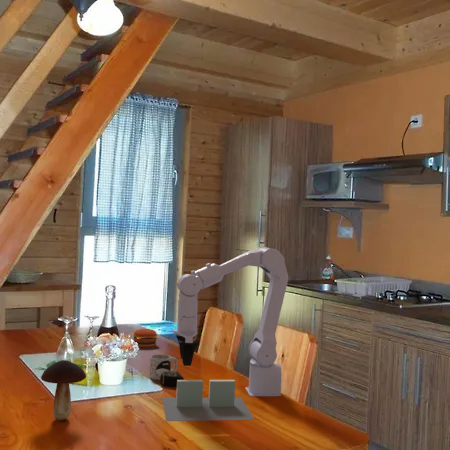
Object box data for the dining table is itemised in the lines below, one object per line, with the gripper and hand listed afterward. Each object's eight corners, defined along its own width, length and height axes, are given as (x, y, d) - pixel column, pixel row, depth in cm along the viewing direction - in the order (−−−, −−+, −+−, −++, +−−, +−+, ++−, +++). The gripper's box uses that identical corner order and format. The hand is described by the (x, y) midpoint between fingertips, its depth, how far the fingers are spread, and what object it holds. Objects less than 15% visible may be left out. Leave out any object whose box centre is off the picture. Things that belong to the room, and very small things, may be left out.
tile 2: (201, 404, 160) (202, 379, 160) (201, 406, 158) (203, 381, 158) (176, 405, 159) (177, 379, 158) (176, 407, 157) (177, 381, 157)
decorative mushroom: (47, 411, 151) (50, 354, 150) (89, 413, 150) (91, 356, 150) (32, 426, 140) (34, 365, 139) (77, 429, 139) (79, 367, 139)
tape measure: (184, 388, 176) (184, 376, 176) (162, 389, 174) (162, 377, 174) (179, 381, 182) (179, 370, 182) (157, 382, 180) (158, 370, 180)
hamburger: (129, 343, 231) (130, 327, 230) (152, 342, 235) (153, 326, 235) (136, 349, 222) (137, 331, 222) (160, 347, 226) (161, 330, 226)
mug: (157, 381, 181) (158, 360, 181) (145, 376, 186) (146, 355, 186) (182, 376, 188) (183, 356, 188) (170, 371, 193) (171, 351, 193)
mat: (240, 398, 168) (241, 397, 168) (254, 421, 150) (254, 419, 150) (161, 399, 164) (162, 397, 164) (166, 422, 146) (166, 420, 146)
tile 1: (233, 404, 161) (234, 379, 161) (234, 406, 160) (235, 381, 160) (208, 404, 160) (209, 379, 160) (209, 406, 159) (210, 381, 158)
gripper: (172, 311, 175) (170, 355, 175) (175, 320, 160) (173, 368, 161) (195, 311, 176) (193, 355, 176) (200, 320, 161) (199, 368, 162)
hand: (185, 362), depth 168 cm, fingers open, 7 cm apart
